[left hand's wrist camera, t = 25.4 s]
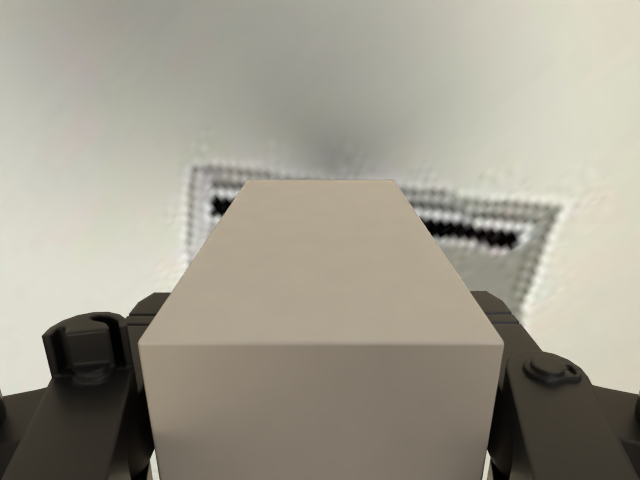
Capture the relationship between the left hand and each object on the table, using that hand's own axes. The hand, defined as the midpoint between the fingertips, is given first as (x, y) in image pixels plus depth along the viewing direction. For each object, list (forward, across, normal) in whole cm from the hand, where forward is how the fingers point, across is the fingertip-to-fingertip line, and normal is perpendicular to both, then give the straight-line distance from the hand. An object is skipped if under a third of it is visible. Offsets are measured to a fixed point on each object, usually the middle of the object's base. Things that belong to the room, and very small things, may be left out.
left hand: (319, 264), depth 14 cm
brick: (+1, 0, 0) cm, 1 cm away
